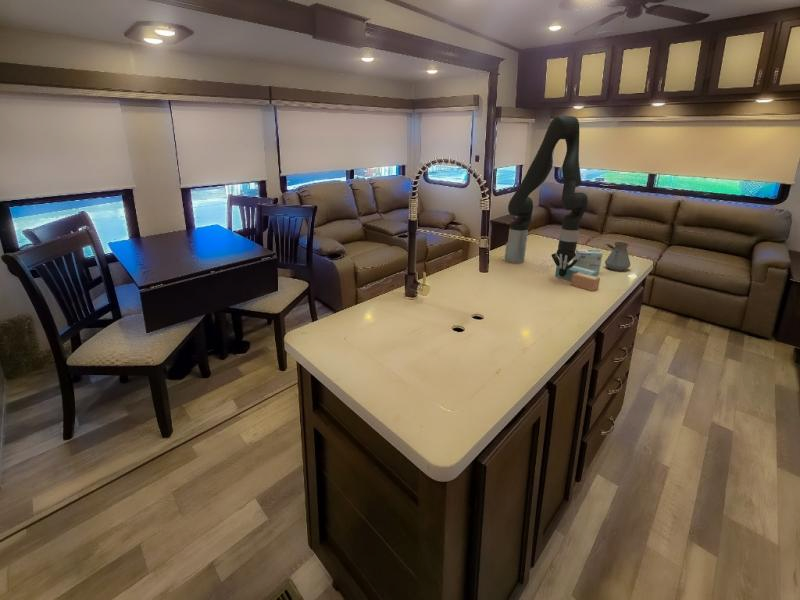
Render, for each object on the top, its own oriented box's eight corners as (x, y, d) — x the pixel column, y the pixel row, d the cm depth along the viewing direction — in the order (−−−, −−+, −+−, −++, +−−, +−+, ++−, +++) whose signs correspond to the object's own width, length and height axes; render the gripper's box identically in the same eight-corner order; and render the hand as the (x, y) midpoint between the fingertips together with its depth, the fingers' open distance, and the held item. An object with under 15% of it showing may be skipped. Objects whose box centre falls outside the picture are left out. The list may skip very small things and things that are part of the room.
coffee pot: (610, 263, 214) (616, 235, 208) (633, 269, 205) (640, 240, 200) (588, 271, 202) (594, 241, 196) (612, 277, 193) (618, 246, 188)
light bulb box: (594, 270, 203) (598, 249, 199) (599, 274, 197) (603, 253, 193) (572, 269, 204) (575, 248, 200) (576, 273, 198) (580, 252, 194)
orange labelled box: (570, 284, 183) (572, 274, 181) (576, 282, 186) (578, 271, 184) (592, 291, 176) (595, 279, 174) (598, 288, 179) (600, 277, 177)
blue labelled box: (554, 276, 194) (556, 266, 192) (563, 273, 199) (565, 263, 197) (587, 285, 183) (589, 274, 181) (596, 281, 188) (598, 271, 186)
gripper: (550, 237, 184) (544, 274, 190) (578, 243, 175) (571, 281, 181) (559, 235, 188) (553, 270, 195) (587, 240, 179) (579, 278, 186)
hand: (562, 276), depth 188 cm, fingers closed
